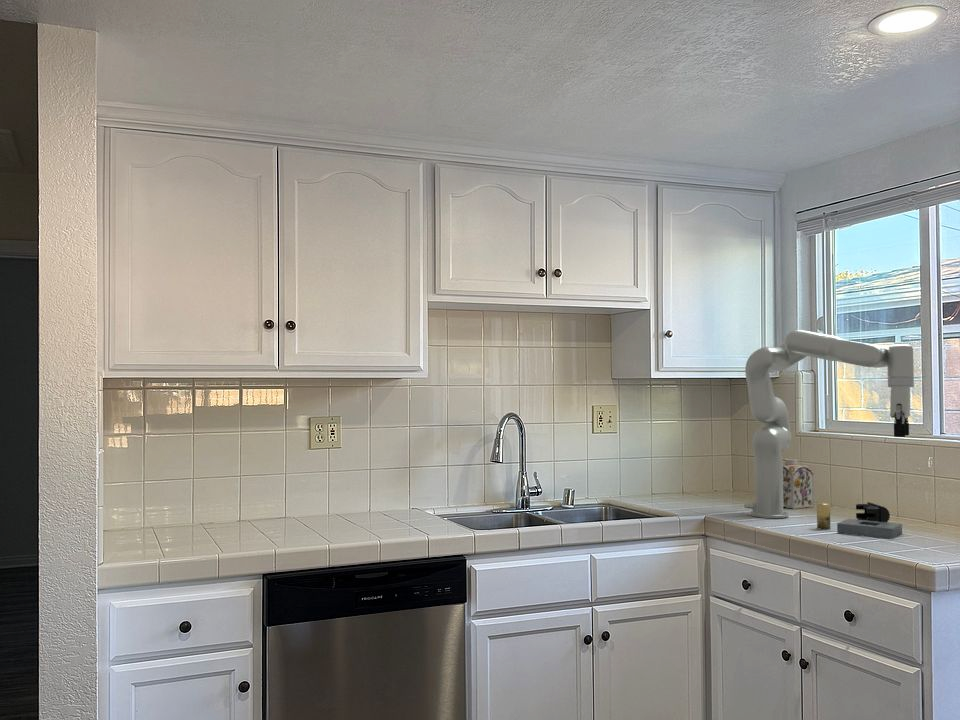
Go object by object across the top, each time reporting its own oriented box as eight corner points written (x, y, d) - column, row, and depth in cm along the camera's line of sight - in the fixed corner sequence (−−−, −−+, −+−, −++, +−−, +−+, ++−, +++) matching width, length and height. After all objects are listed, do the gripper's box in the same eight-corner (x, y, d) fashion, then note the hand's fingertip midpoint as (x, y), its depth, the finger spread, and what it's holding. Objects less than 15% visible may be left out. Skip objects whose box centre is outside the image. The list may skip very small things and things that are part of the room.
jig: (837, 532, 264) (837, 523, 264) (848, 527, 273) (848, 518, 273) (892, 538, 254) (892, 528, 254) (902, 533, 263) (902, 523, 263)
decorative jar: (769, 505, 324) (768, 458, 325) (790, 503, 330) (790, 457, 330) (793, 509, 314) (792, 461, 314) (815, 507, 319) (814, 460, 319)
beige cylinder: (815, 528, 272) (815, 503, 272) (819, 526, 275) (819, 502, 276) (828, 529, 270) (827, 504, 270) (832, 528, 273) (831, 503, 273)
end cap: (890, 527, 276) (890, 506, 276) (868, 526, 276) (868, 506, 276) (876, 522, 286) (876, 502, 286) (855, 521, 286) (855, 501, 286)
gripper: (891, 382, 280) (892, 434, 280) (884, 382, 266) (885, 437, 265) (916, 382, 276) (917, 435, 276) (910, 382, 262) (911, 437, 261)
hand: (901, 435), depth 270 cm, fingers open, 9 cm apart
